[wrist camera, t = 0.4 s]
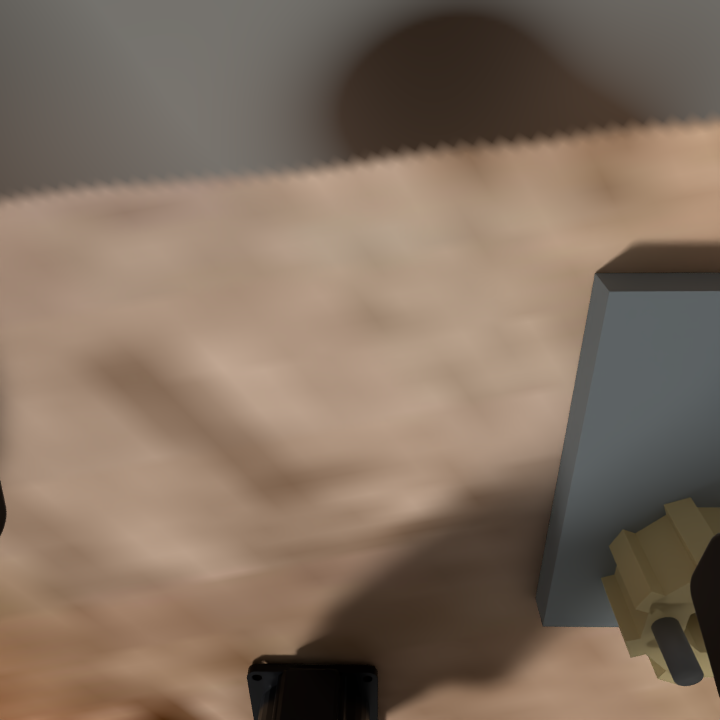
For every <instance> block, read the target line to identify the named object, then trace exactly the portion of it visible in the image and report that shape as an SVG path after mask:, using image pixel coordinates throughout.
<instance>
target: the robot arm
mask: <svg viewBox="0 0 720 720" xmlns="http://www.w3.org/2000/svg"><path fill="white" fill-rule="evenodd" d="M5 522H6V505H5V500H4V496H3V491H2V486H1V482H0V536H1V533H2V531H3V529H4V525H5ZM690 593H691V598H692V602H693V605H694V609H695V612H696V616H697V619H698V623H699V626H700V630H701V633H702V637H703V641H704V644H705V648H706V651H707V655H708V658H709V662H710V665H711V669H712V672H713V676H714V680H715V683H716V687H717V690H718V694H719V697H720V533H717V534H716V535H715V536H713V537H712V538H711V540H710V542H709V544H708V546H707V547H706V549H705V551H704V553H703V555H702V557H701V559H700V561H699V563H698V564H697V566H696V568H695V570H694V572H693V574H692V577H691V581H690ZM247 680H248V687H249V693H250V699H251V705H252V711H253V717H254V720H378V671H377V669H376V668H375V667H373V666H370V665H296V664H254V665H251V666H250V667H249V669H248V675H247Z"/></svg>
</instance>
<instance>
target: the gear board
mask: <svg viewBox="0 0 720 720" xmlns="http://www.w3.org/2000/svg"><path fill="white" fill-rule="evenodd" d="M717 533H720V273H595V277H594V282H593V288H592V293H591V299H590V304H589V309H588V315H587V320H586V326H585V331H584V337H583V342H582V348H581V353H580V358H579V364H578V369H577V375H576V380H575V386H574V391H573V397H572V402H571V407H570V413H569V418H568V424H567V429H566V435H565V440H564V446H563V451H562V456H561V462H560V467H559V473H558V478H557V484H556V489H555V495H554V500H553V505H552V511H551V516H550V522H549V527H548V533H547V538H546V544H545V549H544V554H543V560H542V565H541V571H540V576H539V582H538V587H537V593H536V602H537V606H538V610H539V614H540V617H541V621H542V625H543V626H554V627H619V628H620V631H621V633H622V636H623V639H624V641H625V644H626V646H627V649H628V652H629V654H630V657H636V656H640V655H644V654H646V655H647V656H648V657H649V659H650V661H651V664H652V666H653V669H654V671H655V674H656V676H657V678H658V679H660V680H663V681H667V682H670V683H674V684H677V685H681V686H690V685H694V684H696V683H698V682H700V681H701V680H702V679H703V677H714V676H713V672H712V669H711V665H710V662H709V658H708V655H707V651H706V648H705V644H704V641H703V637H702V633H701V630H700V626H699V623H698V619H697V616H696V612H695V609H694V605H693V602H692V598H691V593H690V581H691V577H692V574H693V572H694V570H695V568H696V566H697V564H698V563H699V561H700V559H701V557H702V555H703V553H704V551H705V549H706V547H707V546H708V544H709V542H710V540H711V538H712V537H713V536H715V535H716V534H717Z"/></svg>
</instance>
